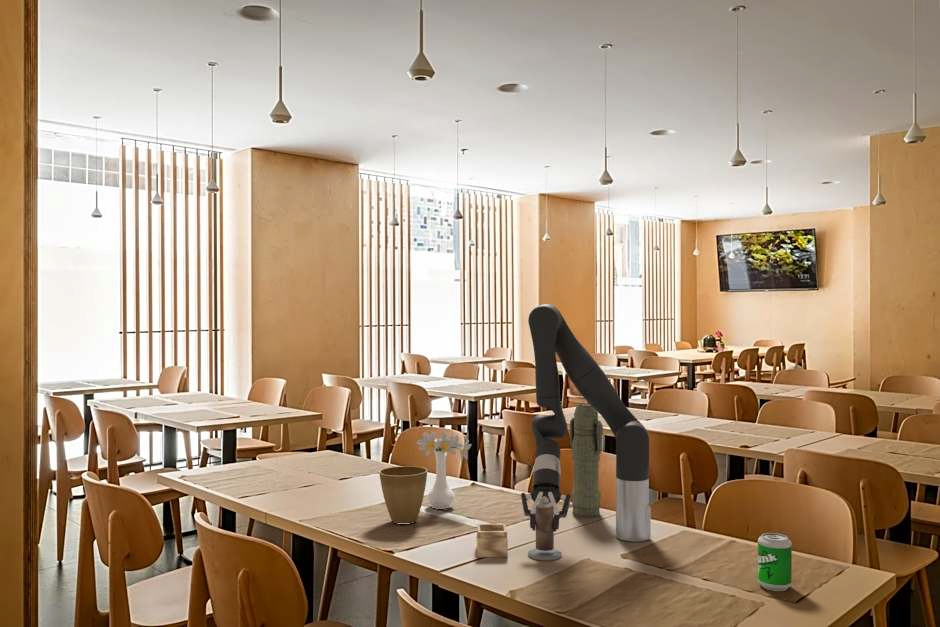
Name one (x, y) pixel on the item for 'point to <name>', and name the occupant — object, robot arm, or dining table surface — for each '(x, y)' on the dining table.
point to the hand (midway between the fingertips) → (544, 529)
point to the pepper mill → (544, 525)
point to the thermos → (586, 460)
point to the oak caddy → (492, 540)
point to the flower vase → (441, 466)
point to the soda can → (774, 561)
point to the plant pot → (403, 491)
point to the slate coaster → (545, 555)
